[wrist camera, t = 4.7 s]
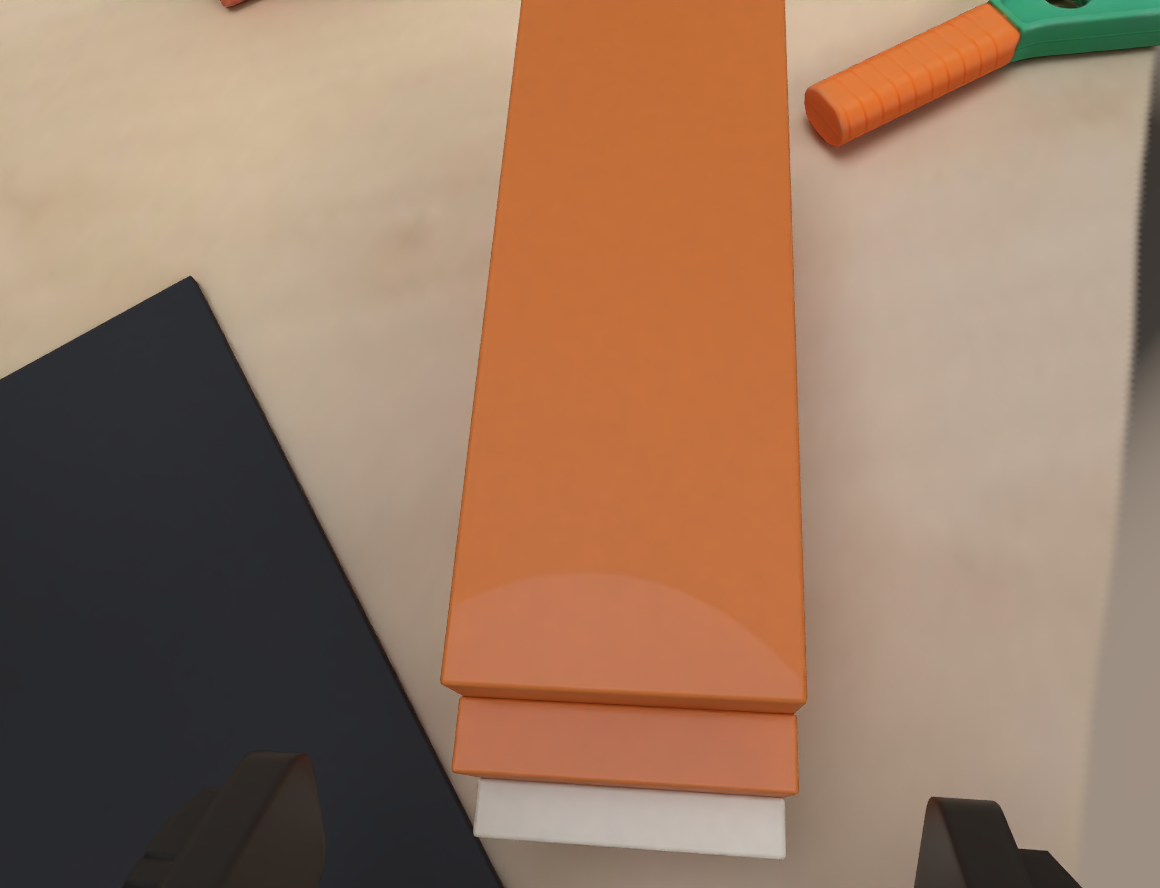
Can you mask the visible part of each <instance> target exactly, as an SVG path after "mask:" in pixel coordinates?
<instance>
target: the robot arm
mask: <svg viewBox="0 0 1160 888" xmlns="http://www.w3.org/2000/svg"><path fill="white" fill-rule="evenodd" d="M325 855H326V838H325V831H324V826H323V820H322V815H321V810H320V804H319V799H318V793H317V788H316V782H315V777H314V771H313V766H312V762H311V760H310V758H309V756H308V755H307V754H304V753H292V752H276V751H261V750H251V751H249V752H247V753H246V754H245V755H244V756H243V757H242V759H241V760H240V761H239V763H238V764H237V766H236V767H235V769H234V770H233V772H232V773H231V775H230V776H229V778H228V779H227V781H226V782H225V784H224V785H223V787H222V788H221V789H213V788H204V789H203V790H202V791H201V792H199V793H198V794H197V795H196V796H194V797H193V798H192V799H191V800H189V801H188V802H187V803H186V804H184V805H183V806H182V807H181V808H179V809H178V810H177V811H176V812H174V813H173V814H172V815H171V816H170V817H169V818H168V819H167V821H166V822H165V823H164V825H163V826H162V828H161V829H160V830H159V832H158V833H157V835H156V836H155V837H154V839H153V840H152V842H151V843H150V844H149V846H148V847H147V849H146V850H145V855H144V857H143V858H140V859H139V860H138V861H137V863H136V864H135V866H134V867H133V868H132V870H131V871H130V873H129V874H128V875H127V877H126V878H125V880H124V885H123V887H122V888H318V886H319V883H320V880H321V876H322V873H323V868H324V863H325ZM119 888H121V887H119ZM914 888H1082V887H1081V886H1080V885H1079V884H1078V883H1077V882H1076V881H1075V880H1074V879H1073V878H1072V877H1071V875H1070V874H1069V873H1068V872H1067V871H1066V870H1065V869H1064V868H1063V867H1062V866H1061V865H1060V864H1059V863H1058V862H1057V861H1056V860H1055V858H1054V857H1053V856H1052V855H1051V854H1050V853H1049V852H1048V851H1042V850H1028V849H1018V847H1017V845H1016V843H1015V840H1014V838H1013V835H1012V833H1011V831H1010V828H1009V826H1008V823H1007V821H1006V818H1005V816H1004V814H1003V811H1002V809H1001V808H1000V806H999V805H998V804H997V803H996V802H995V801H988V800H973V799H958V798H943V797H931V798H930V799H929V801H928V804H927V808H926V813H925V820H924V826H923V833H922V839H921V846H920V852H919V859H918V865H917V871H916V878H915V885H914Z"/></svg>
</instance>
